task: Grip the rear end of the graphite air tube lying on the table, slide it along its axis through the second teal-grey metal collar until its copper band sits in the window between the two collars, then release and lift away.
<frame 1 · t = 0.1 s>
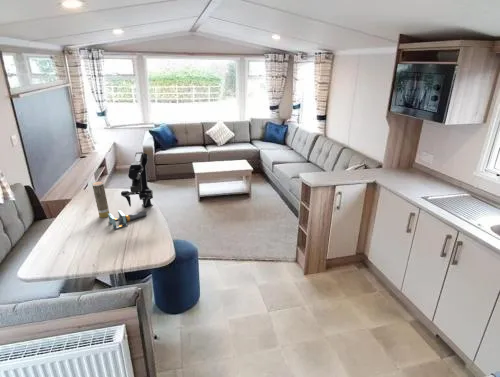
hand: (137, 206, 200), 15 cm above the table, tool tilted 30°, fingers open, 9 cm apart
air tube: (133, 219, 215), on the table
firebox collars: (118, 224, 209), on the table
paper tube: (104, 216, 220), on the table
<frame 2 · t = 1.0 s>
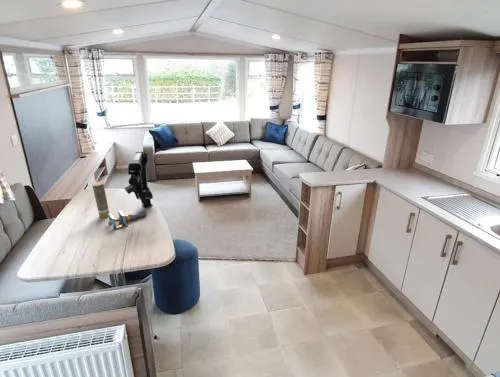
hand: (140, 201, 214), 12 cm above the table, tool pointing down, fingers open, 9 cm apart
nothing on the table moved.
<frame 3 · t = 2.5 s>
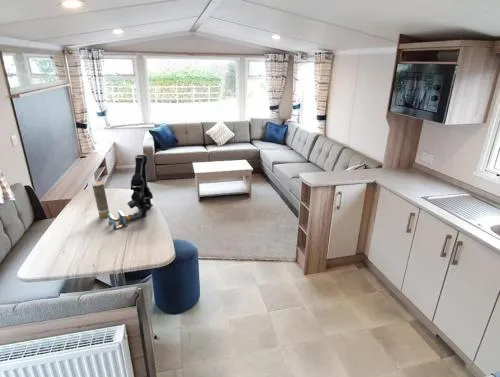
hand: (142, 215, 218), 1 cm above the table, tool pointing down, fingers closed on air tube, 4 cm apart
air tube: (133, 219, 215), on the table, touching gripper
everything else where it was.
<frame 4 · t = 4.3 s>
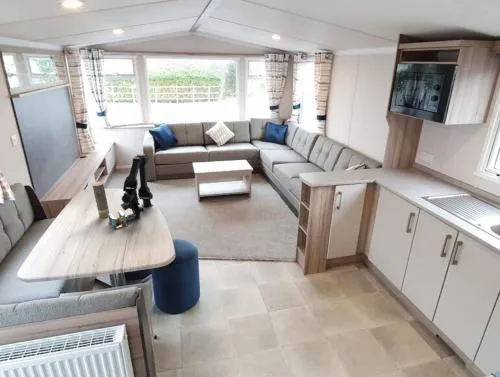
hand: (136, 217, 216), 1 cm above the table, tool pointing down, fingers closed on air tube, 4 cm apart
air tube: (126, 221, 212), on the table, touching gripper
everything else where it was.
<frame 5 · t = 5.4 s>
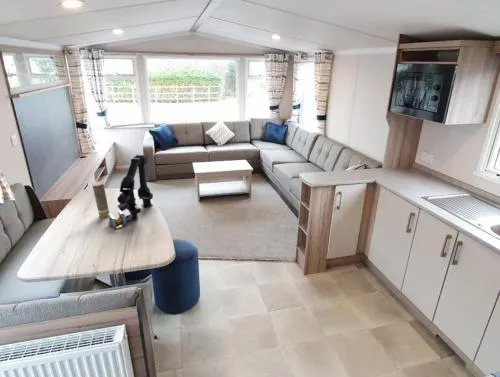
hand: (133, 218, 215), 1 cm above the table, tool pointing down, fingers closed on air tube, 4 cm apart
air tube: (124, 222, 211), on the table, touching gripper
everything else where it was.
when the fingers open (1 cm above the table, at t = 5.7 s): air tube stays where it is, on the table.
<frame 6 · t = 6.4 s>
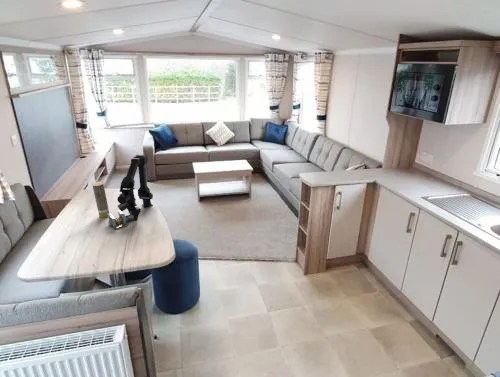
hand: (133, 218, 215), 1 cm above the table, tool pointing down, fingers open, 9 cm apart
air tube: (124, 222, 211), on the table, tilted 7°
everything else where it was.
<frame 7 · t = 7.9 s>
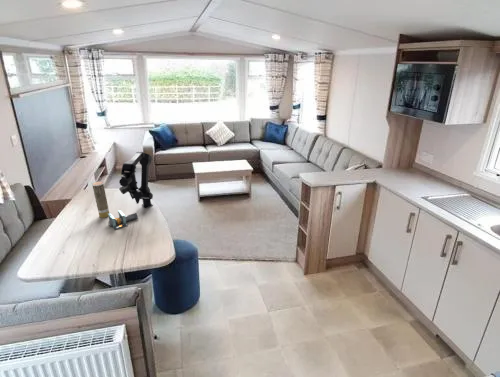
hand: (135, 201, 215), 12 cm above the table, tool pointing down, fingers open, 9 cm apart
nothing on the table moved.
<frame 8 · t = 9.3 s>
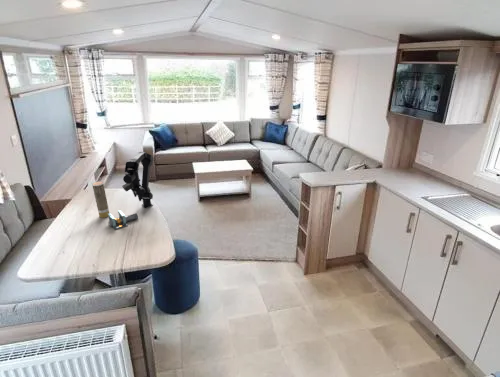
hand: (137, 198, 217), 12 cm above the table, tool pointing down, fingers open, 9 cm apart
air tube: (124, 222, 211), on the table, tilted 13°
everything else where it was.
at the end: air tube 0.3 cm from the target spot, on the table; air tube moved 6.2 cm from its start; the gripper is holding nothing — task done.
